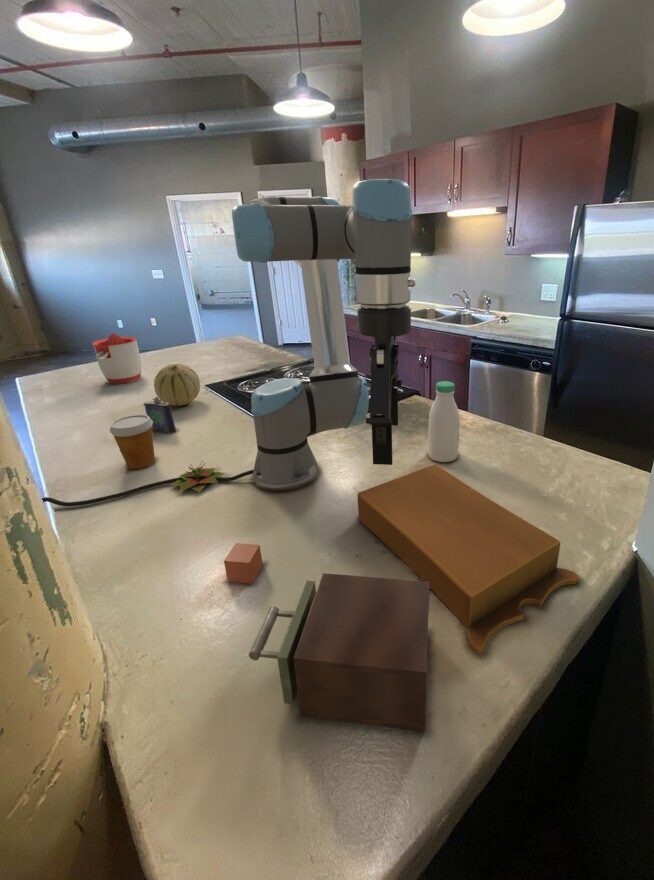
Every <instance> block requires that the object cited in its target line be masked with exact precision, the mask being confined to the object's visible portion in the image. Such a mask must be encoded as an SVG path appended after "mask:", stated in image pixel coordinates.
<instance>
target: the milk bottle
mask: <svg viewBox="0 0 654 880" xmlns="http://www.w3.org/2000/svg"><path fill="white" fill-rule="evenodd" d="M455 387H456V384H455V383H454V382H452V381H447V380H442V381H438V382H436V384H435V393H436V396H435V399H434V401H433V403H432V405H431V406H430V407H431V408H430V410H429V414H428V435H427V437H428V438H427V440H428V441H427V442H428V443H427V454H428V457H429V458H430V459H431V460H432V461H436V462H439V463H450V462H453V461H455V460H456V459H457V458H458V456H459V455H458V454H459V440H460V439H459V437H460V412H459V408H458V406H457V403H456V401H455V397H454V394H455V389H456V388H455Z"/></svg>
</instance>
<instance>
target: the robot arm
mask: <svg viewBox="0 0 654 880" xmlns="http://www.w3.org/2000/svg"><path fill="white" fill-rule="evenodd" d="M351 197H352V199H351V205H349V204H348V205H347V204H345V205H344V204H343V205H342V204H341V203H340V202H339V201H338V200H337V199H336V198H333V197H324V196H320V195H317V196H276V195H273V196H263V197H259V198H255V199H252V200H249V201H246V202H244V203H243V204H237V205H234V207H232V209H231V219H232V228H233V229H232V230H233V234H234V243H235V249H236V253H237V254H236V255H237V257H238V259H239V260H241V261H243V262H249V263H254V262H255V263H261V264H265V263H267V262H269V263H270V262H288V261H289V262H290V261H291V262H292V261H293V262H295V263H296V264H297V265H298V266H299V267H300V269H301V276H302V282H303V283H302V284H303V290H304V298H305V306H306V311H307V312H306V314H307V319H308V328H309V336H310V344H311V350H312V351H311V352H312V358H313V365H314V367H313V370H312V371H311V372H310V374H309V375H308V378H309V383H305V384H304V383H303V382H302V380H301V379H300V378H297V377H283V378H282V377H281V378H277V379H274V380H269V381H268V382H265V383H262V384H261V385H259V386H258V387H256V388H255V389H254V390H253V391H252V393H251V397H250V400H251V401H250V402H251V409H250V410H251V415H252V417H253V425H254V432H255V439H256V446H257V447H256V448H257V451H256V457H255V461H254V466H253V469H250V470H247V471H244V472H241V473H239V474H236V475H234V476H228V477H221V476H219V477H216V480H217V482H233V481H236V480H239V479H242V478H244V477H246V476H250V475H253V482H254V483H255V485H256V486H257V487H258V488H260V489H262V490H265V491H269V492H288V491H293V490H297V489H300V488H303V487H304V486H307V485H308V484H310V483H311V482H313V481H314V480H315V479H316V477H317V476H318V473H319V468H318V461H317V459H316V457H315V456H314V455H315V454H314V453H313V451H312V449H311V447H310V445H309V440H308V435H309V434H314V433H321V432H327V431H333V430H339V429H349V428H351V427H355V426H360V425H361V424H363V423H364V422H365V424H367V425H370V426H371V440H372V441H371V442H372V443H371V445H372V465H378V466H379V465H381V466H383V465H384V466H385V465H386V466H392V465H393V426H399V389H398V388H402V385H403V384H402V382H403V381H402V380H401V379H400V380H399V373H398V372H399V371H398V366H399V356H400V344H399V343H397V337H401V336H405V335H407V334H409V333H410V332H411V329H412V308H411V307H410V306H409V305H408V304H409V302H410V301H411V299H412V297H411V295H412V294H411V293H412V291H411V289H410V288H414V287H415V286H416V281H415V279H410V278H411V271H412V270H411V269H412V267H411V265H412V217H413V209H412V200H411V188H410V185H409V184H408V183H407V182H406V181H404V180H401V179H395V178H373V179H364V180H359V181H357V182H356V183H355V184H354V185H353V187H352V196H351ZM341 260H355V261H354V263H355V273H354V274H355V297H356V299H355V301H356V302H357V303H358V304H359V305H360V306H358V308H357V310H356V313H357V330H358V333H359V334H360V335H362V336H364V337H372V338H373V339H374V343H372V344H371V347H370V348H369V358H370V393H369V387H368V382H367V380H366V378H364V377H362V376H359V372H358V369H357V368H356V367H354V366H353V364H352V363H351V359H350V358H351V357H350V350H349V349H350V348H349V343H348V342H349V341H348V337H347V336H348V335H347V327H346V319H345V318H346V317H345V313H344V311H345V310H344V304H343V303H344V302H343V295H342V288H341V286H342V285H341V279H340V271H339V262H340V261H341ZM369 394H370V395H369ZM369 406H370V407H369ZM368 412H369V417H367V415H368ZM198 476H199V475H198ZM195 477H196V476H195ZM195 477H194V476H186V477H185V478H190V479H196V478H195ZM209 477H211V476H206V475H200V479H205V478H209ZM180 479H182V478H181V477H174V478H169V479H165V480H161V481H156V482H153V483H149V484H144V485H141V486H138V487H135V488H131V489H128V490H125V491H122V492H118V493H113V494H109V495H104V496H101V497H96V498H92V499H91V498H90V499H86V500H78V501H70V502H68V501H62V500H60V499H59V500H58V499H56V498H53V497H48V496H45V497H42V498H41V499H42V500H43V503H45V502H47V503H51V504H54V505H57V506H61V507H78V506H79V507H80V506H85V505H86V506H87V505H92V504H96V503H101V502H105V501H109V500H113V499H117V498H121V497H122V498H123V497H125V496H128V495H132V494H134V493H137V492H138V493H139V492H141V491H144V490H147V489H151V488H156V487H159V486H165V485H169V484H173V483H174V482H176V481H177V480H180ZM198 479H199V477H198ZM182 480H184V479H182Z"/></svg>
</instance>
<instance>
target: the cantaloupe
mask: <svg viewBox="0 0 654 880" xmlns="http://www.w3.org/2000/svg"><path fill="white" fill-rule="evenodd" d="M153 388H154V392H155V395H156V397H158V396H159V397H158V398H159V400H162V401H161V402H166V403H169V404H170V406H173V407H178V406H179V407H182V406H185V405H189V404H190V403H192V402H193V401H194V400H195V399H196V398H197V397H198V395H199V393H200V391H201V380H200V376H199V375H198V374H197V372H196V371H195V370H194V369H193V368H191V367H190V366H188V365H186V364H183V363H171V364H167V365H166V366H163V367H162V368H161V369H160V370H159V371H158V372H157V373H156V375H155V377H154V381H153Z"/></svg>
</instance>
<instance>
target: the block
mask: <svg viewBox="0 0 654 880" xmlns="http://www.w3.org/2000/svg"><path fill="white" fill-rule="evenodd" d="M223 565H224V569H225V574H226V579H227V582H228V583H238V584H249V585H250V584H252V585H253V584H254V582H255V580H256V578H257V577H258V575H259V573H260V571H261V569H262V568H263V566H264V562H263V557H262V550H261V545H260V544H256V543H255V544H254V543H242V542H241V543H240V542H236V543H234V545H233V546H232V548H231V550H230V551H229V553H228V554H227V555H226V557H225V559H224V560H223Z"/></svg>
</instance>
